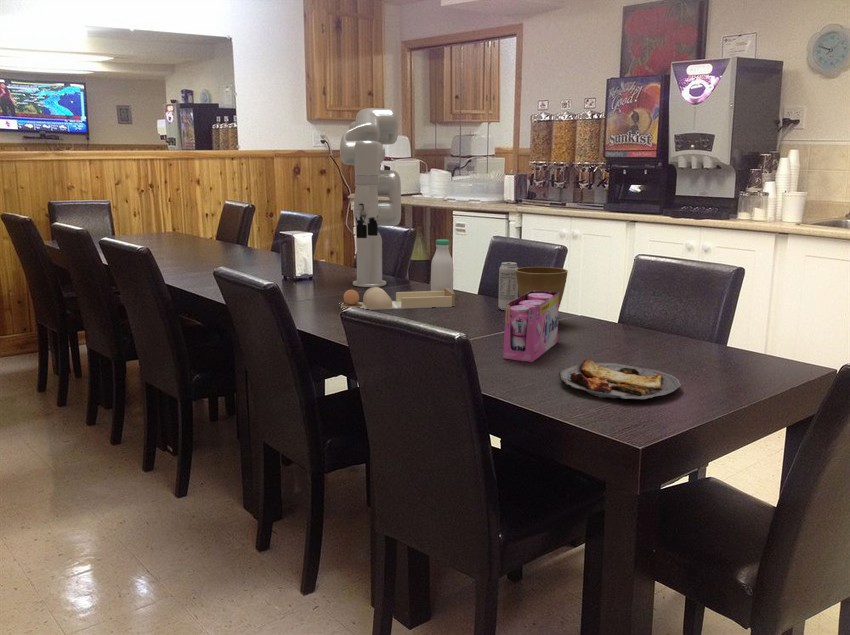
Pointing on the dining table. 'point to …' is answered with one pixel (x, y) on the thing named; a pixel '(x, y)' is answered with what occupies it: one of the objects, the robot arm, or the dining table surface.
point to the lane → (406, 299)
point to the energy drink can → (507, 284)
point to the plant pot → (541, 280)
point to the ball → (351, 297)
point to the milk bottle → (442, 267)
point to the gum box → (531, 325)
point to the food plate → (618, 380)
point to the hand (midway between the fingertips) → (367, 236)
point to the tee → (350, 305)
